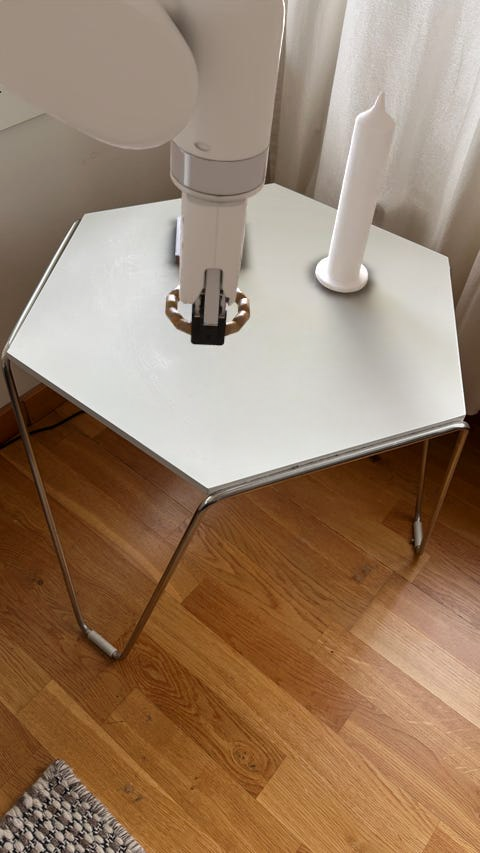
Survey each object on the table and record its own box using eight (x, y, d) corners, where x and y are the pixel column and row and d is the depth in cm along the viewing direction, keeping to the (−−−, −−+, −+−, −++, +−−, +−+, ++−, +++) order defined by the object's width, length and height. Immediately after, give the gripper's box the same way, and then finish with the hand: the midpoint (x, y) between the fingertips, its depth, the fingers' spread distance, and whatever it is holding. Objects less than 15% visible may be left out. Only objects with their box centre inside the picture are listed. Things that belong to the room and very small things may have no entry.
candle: (366, 296, 93) (415, 111, 74) (313, 288, 94) (348, 101, 75) (368, 264, 98) (414, 81, 79) (317, 256, 98) (351, 72, 79)
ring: (163, 338, 68) (163, 329, 67) (167, 283, 73) (167, 274, 72) (250, 342, 69) (251, 333, 68) (248, 287, 74) (248, 278, 73)
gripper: (173, 107, 59) (171, 281, 73) (165, 213, 49) (165, 392, 63) (262, 113, 60) (243, 285, 74) (272, 220, 50) (248, 396, 64)
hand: (207, 333), depth 69 cm, fingers closed on ring, 1 cm apart
